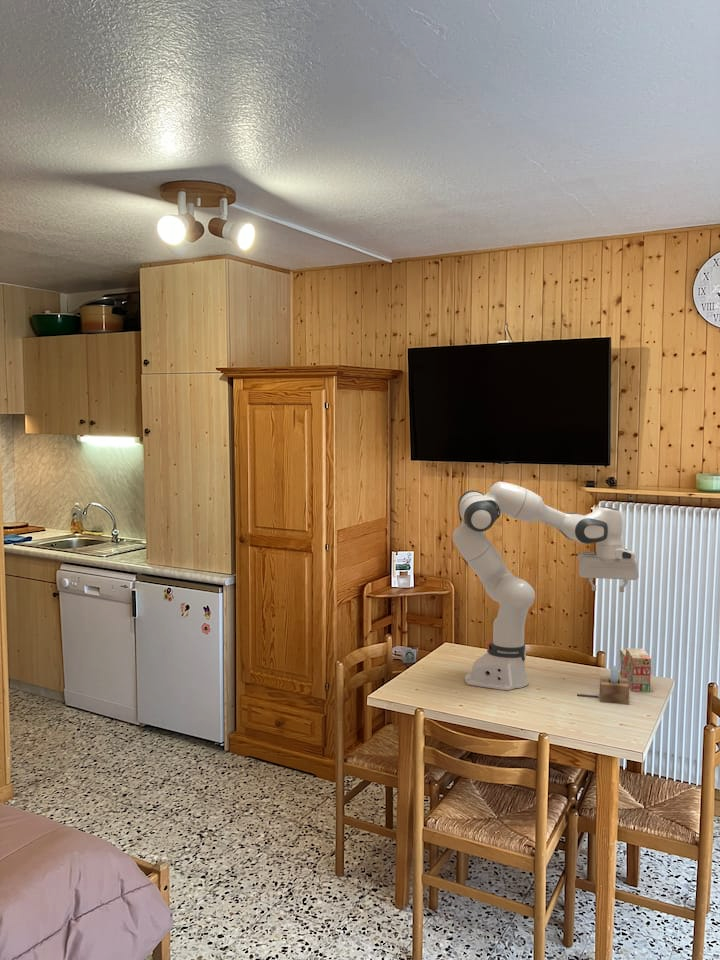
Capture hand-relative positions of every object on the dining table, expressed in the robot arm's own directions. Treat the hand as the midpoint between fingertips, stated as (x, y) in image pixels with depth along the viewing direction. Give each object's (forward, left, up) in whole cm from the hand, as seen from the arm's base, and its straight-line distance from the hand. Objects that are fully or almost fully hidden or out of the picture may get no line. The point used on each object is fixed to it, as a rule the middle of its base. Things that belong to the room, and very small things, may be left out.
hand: (607, 591), depth 276 cm
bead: (+2, -14, -34) cm, 37 cm away
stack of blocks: (+10, +7, -34) cm, 37 cm away
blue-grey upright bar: (+2, -14, -34) cm, 37 cm away
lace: (-7, -14, -34) cm, 37 cm away
